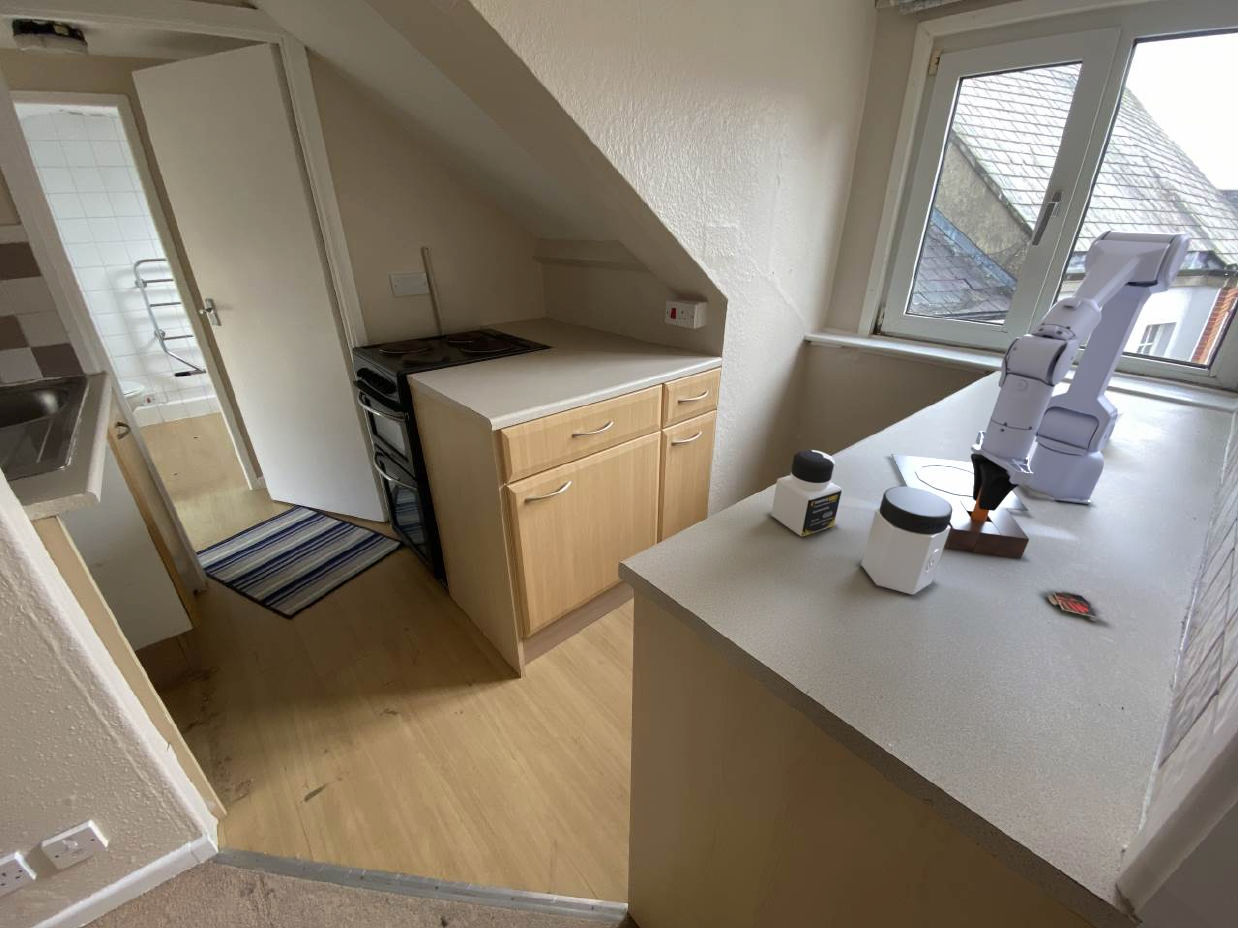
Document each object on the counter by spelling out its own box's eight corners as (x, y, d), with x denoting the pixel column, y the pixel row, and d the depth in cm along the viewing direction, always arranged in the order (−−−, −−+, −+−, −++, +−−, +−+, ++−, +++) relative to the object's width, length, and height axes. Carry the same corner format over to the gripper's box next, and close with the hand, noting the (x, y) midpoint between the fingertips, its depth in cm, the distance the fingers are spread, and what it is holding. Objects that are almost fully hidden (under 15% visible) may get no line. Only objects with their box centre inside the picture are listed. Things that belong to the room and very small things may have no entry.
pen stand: (995, 523, 87) (1003, 504, 85) (1021, 558, 78) (1029, 539, 76) (929, 514, 89) (935, 496, 87) (946, 548, 80) (953, 528, 79)
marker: (979, 525, 83) (1000, 469, 79) (984, 532, 82) (1005, 475, 77) (965, 523, 84) (985, 467, 79) (970, 530, 82) (990, 473, 78)
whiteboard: (988, 469, 105) (990, 464, 104) (1026, 515, 89) (1029, 510, 88) (890, 458, 108) (891, 453, 108) (910, 501, 93) (912, 495, 92)
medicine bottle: (801, 537, 82) (815, 469, 77) (770, 515, 88) (780, 450, 82) (834, 526, 85) (850, 459, 80) (801, 506, 91) (814, 442, 85)
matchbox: (1079, 595, 71) (1080, 592, 70) (1105, 622, 66) (1107, 619, 66) (1041, 591, 71) (1042, 589, 71) (1065, 618, 67) (1066, 615, 66)
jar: (904, 602, 69) (930, 525, 64) (850, 569, 75) (869, 496, 70) (941, 579, 73) (967, 505, 68) (886, 550, 79) (907, 479, 74)
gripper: (966, 402, 82) (941, 479, 88) (1002, 438, 69) (970, 525, 75) (1017, 407, 81) (988, 485, 87) (1064, 444, 68) (1026, 533, 74)
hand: (983, 504), depth 81 cm, fingers closed on marker, 2 cm apart
